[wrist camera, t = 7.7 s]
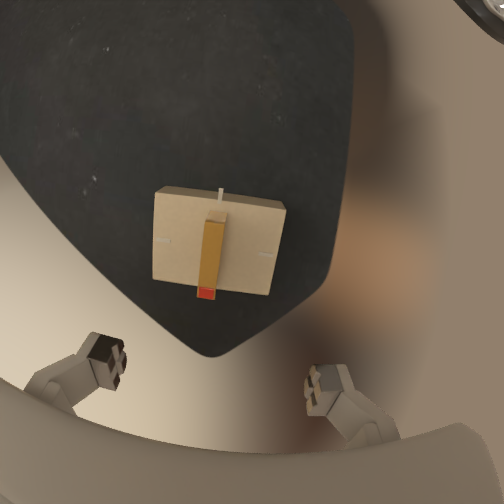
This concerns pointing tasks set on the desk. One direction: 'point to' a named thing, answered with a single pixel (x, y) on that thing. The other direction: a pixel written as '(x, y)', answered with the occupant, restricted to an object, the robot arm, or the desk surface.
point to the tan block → (234, 245)
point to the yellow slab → (211, 254)
